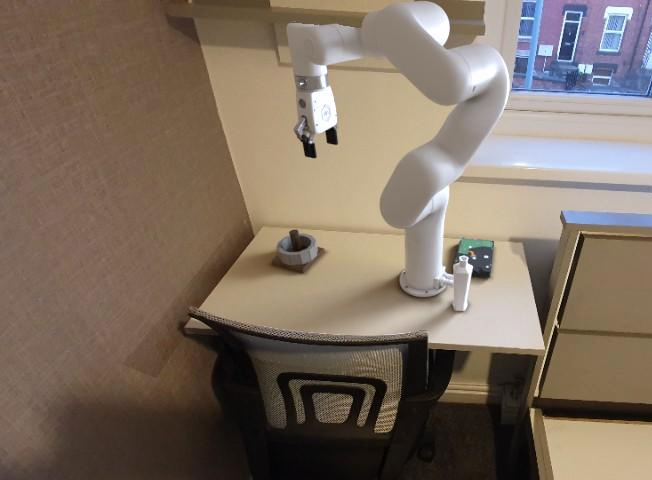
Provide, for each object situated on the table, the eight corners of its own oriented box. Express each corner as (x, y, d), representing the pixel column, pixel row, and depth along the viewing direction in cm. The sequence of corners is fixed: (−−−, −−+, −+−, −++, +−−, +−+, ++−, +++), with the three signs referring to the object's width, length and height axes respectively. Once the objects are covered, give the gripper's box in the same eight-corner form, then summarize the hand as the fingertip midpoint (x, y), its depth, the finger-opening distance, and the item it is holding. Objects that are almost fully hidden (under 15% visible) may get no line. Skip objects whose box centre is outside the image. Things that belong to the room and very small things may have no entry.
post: (325, 252, 114) (320, 226, 109) (303, 273, 106) (297, 246, 101) (295, 244, 116) (289, 218, 111) (272, 264, 109) (265, 237, 103)
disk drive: (490, 279, 107) (493, 247, 119) (491, 271, 106) (494, 240, 118) (453, 274, 108) (459, 243, 120) (453, 267, 107) (460, 236, 119)
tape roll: (324, 248, 113) (322, 238, 111) (303, 269, 105) (300, 258, 103) (294, 240, 115) (292, 230, 113) (271, 260, 108) (268, 249, 106)
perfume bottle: (471, 311, 97) (476, 263, 89) (454, 313, 96) (457, 265, 88) (466, 298, 101) (470, 251, 92) (449, 300, 100) (452, 253, 91)
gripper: (302, 92, 86) (314, 165, 95) (345, 75, 99) (352, 141, 109) (274, 88, 87) (288, 160, 97) (319, 72, 101) (328, 137, 111)
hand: (322, 150), depth 103 cm, fingers open, 9 cm apart
